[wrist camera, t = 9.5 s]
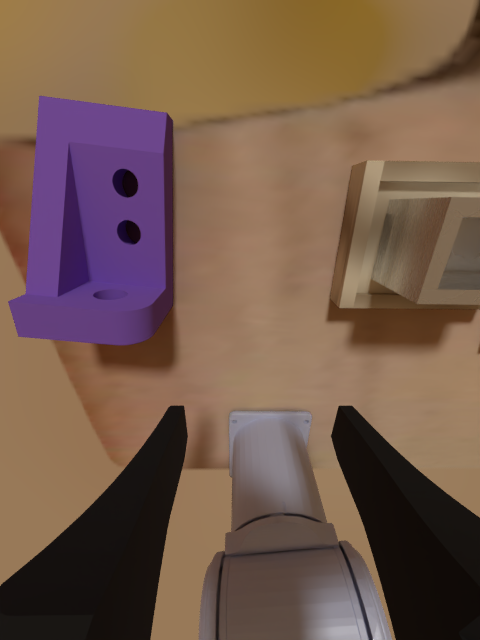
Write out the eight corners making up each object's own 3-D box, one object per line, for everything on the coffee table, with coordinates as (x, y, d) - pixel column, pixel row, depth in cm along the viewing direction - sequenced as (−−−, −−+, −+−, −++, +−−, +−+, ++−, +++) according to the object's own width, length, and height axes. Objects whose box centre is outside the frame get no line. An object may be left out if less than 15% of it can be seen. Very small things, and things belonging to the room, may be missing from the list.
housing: (483, 279, 18) (568, 305, 13) (370, 278, 18) (416, 304, 13) (517, 201, 16) (631, 199, 11) (389, 199, 16) (451, 196, 11)
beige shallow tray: (480, 300, 20) (504, 309, 18) (329, 298, 20) (339, 307, 18) (537, 168, 16) (575, 163, 14) (352, 165, 16) (367, 160, 14)
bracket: (173, 303, 20) (145, 347, 14) (87, 295, 20) (18, 336, 14) (173, 121, 15) (129, 63, 9) (57, 105, 15) (-71, 35, 9)
